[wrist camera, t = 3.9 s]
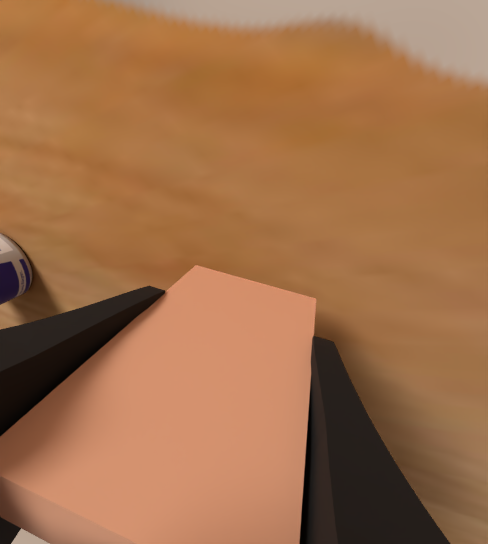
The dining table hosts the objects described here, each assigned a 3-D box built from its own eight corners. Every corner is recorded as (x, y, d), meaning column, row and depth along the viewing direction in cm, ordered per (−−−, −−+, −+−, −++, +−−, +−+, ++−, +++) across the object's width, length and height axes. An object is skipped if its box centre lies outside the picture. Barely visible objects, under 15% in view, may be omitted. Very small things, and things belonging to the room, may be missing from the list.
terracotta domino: (304, 335, 11) (264, 656, 4) (192, 301, 12) (0, 517, 5) (316, 298, 10) (293, 620, 3) (195, 265, 11) (-29, 461, 4)
